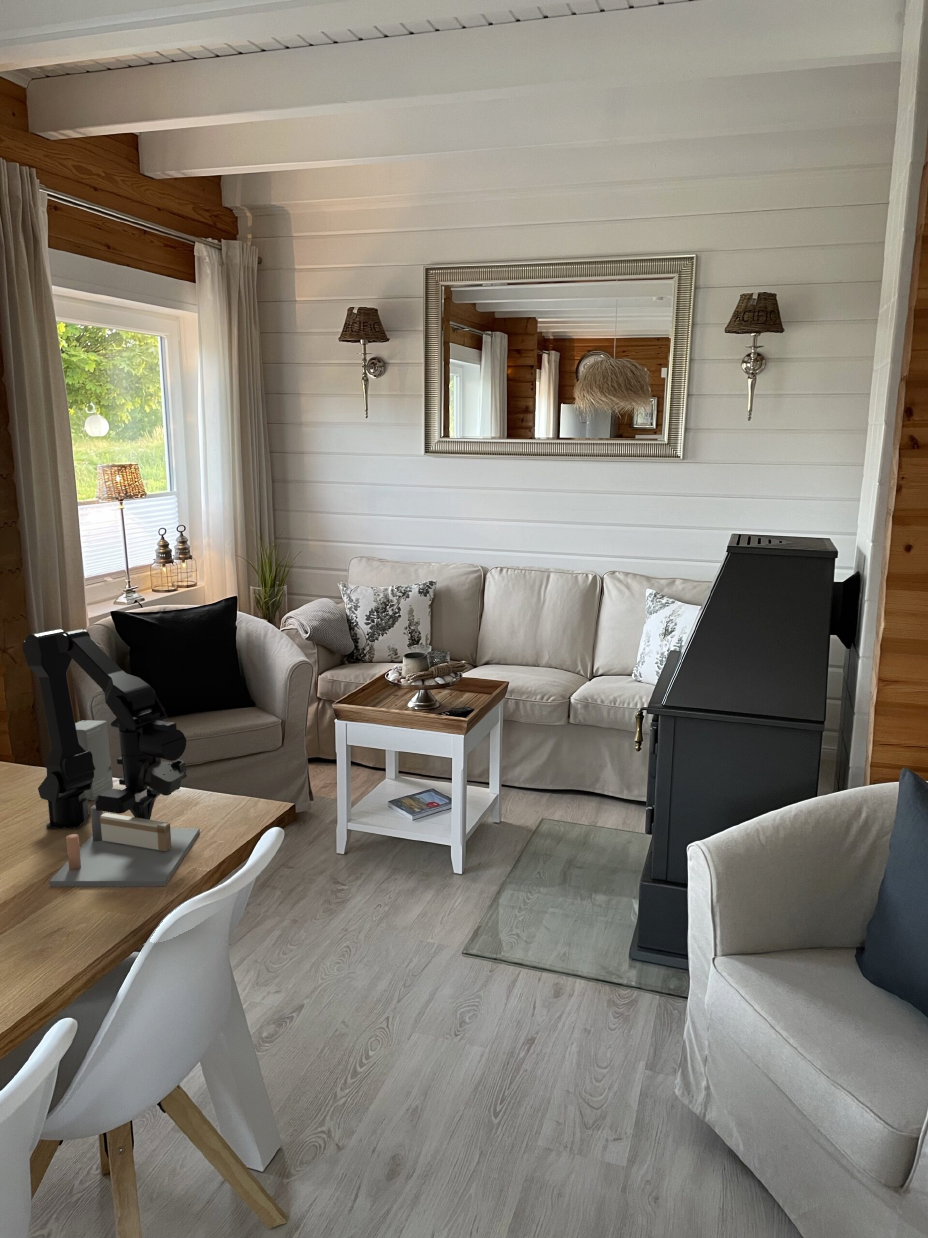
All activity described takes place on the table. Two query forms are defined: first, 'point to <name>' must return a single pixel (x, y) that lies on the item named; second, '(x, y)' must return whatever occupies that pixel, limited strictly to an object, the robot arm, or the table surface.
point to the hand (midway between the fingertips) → (144, 828)
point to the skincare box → (96, 754)
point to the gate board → (121, 860)
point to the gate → (136, 831)
